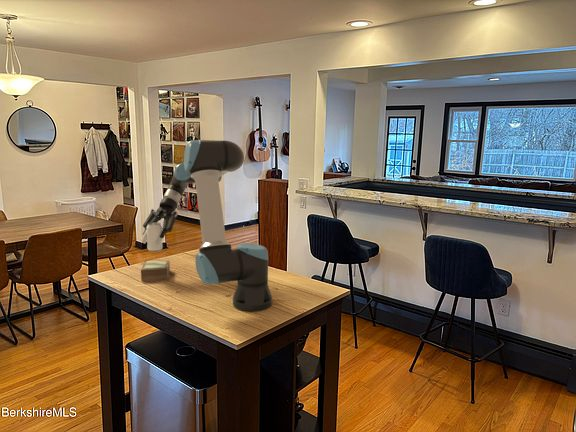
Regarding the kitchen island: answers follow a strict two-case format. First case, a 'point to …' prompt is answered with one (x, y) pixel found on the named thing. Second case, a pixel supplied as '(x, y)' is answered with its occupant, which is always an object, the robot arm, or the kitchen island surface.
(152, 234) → the can
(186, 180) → the robot arm
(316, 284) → the kitchen island surface
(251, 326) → the kitchen island surface
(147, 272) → the plinth
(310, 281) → the kitchen island surface
